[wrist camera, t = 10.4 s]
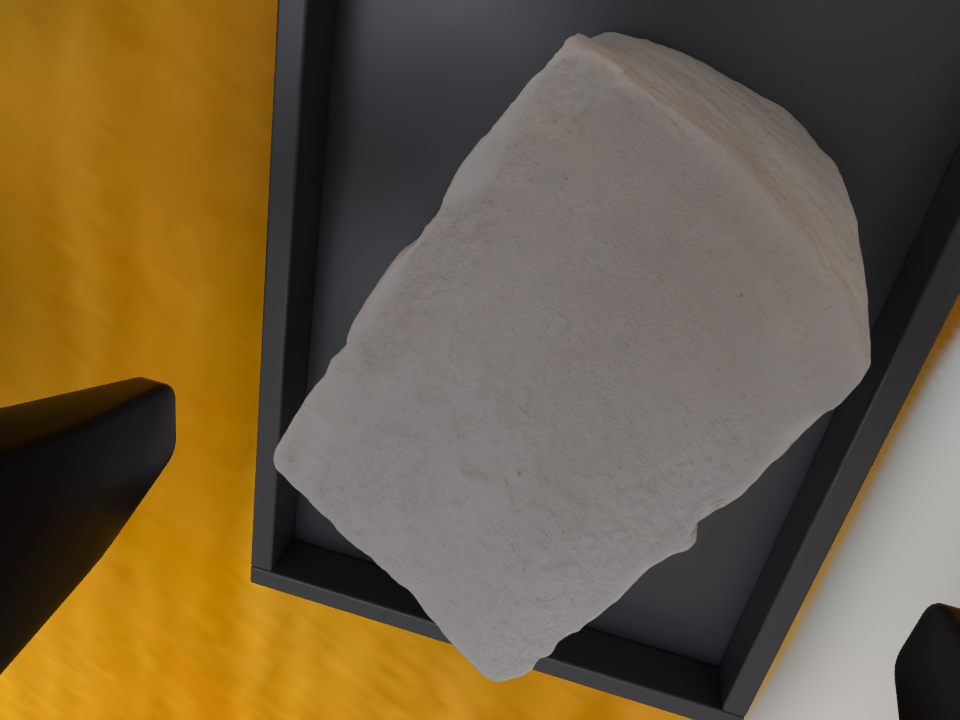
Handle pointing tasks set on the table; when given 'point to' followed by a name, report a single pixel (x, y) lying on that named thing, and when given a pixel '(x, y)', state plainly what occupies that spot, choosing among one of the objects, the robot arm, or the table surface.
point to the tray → (418, 197)
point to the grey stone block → (587, 347)
